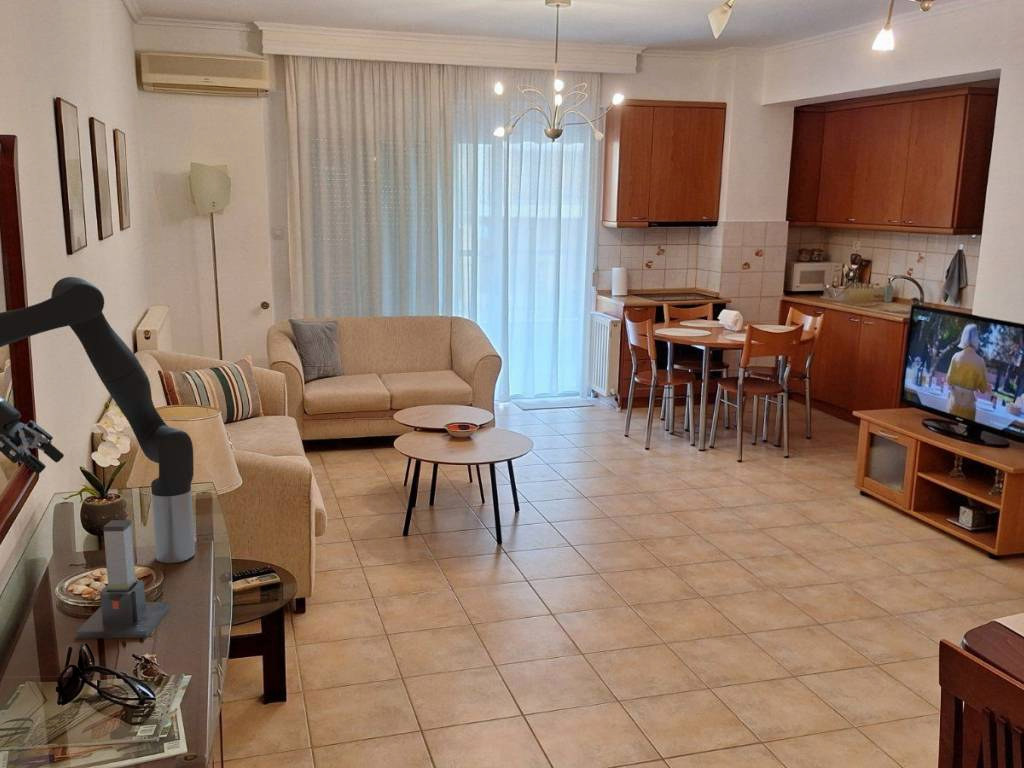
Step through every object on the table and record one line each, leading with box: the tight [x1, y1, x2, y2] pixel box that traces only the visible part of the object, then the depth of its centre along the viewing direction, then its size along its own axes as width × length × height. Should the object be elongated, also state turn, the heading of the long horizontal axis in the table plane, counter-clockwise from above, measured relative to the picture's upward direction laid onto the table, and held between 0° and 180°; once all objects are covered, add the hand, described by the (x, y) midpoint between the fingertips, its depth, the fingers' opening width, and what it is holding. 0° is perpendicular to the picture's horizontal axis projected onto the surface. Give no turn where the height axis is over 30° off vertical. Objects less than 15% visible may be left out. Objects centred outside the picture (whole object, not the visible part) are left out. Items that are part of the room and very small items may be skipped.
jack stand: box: [75, 579, 171, 640], centre depth 190 cm, size 14×14×8 cm
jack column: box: [103, 519, 136, 592], centre depth 188 cm, size 4×4×16 cm
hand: (51, 464), depth 190 cm, fingers open, 8 cm apart
